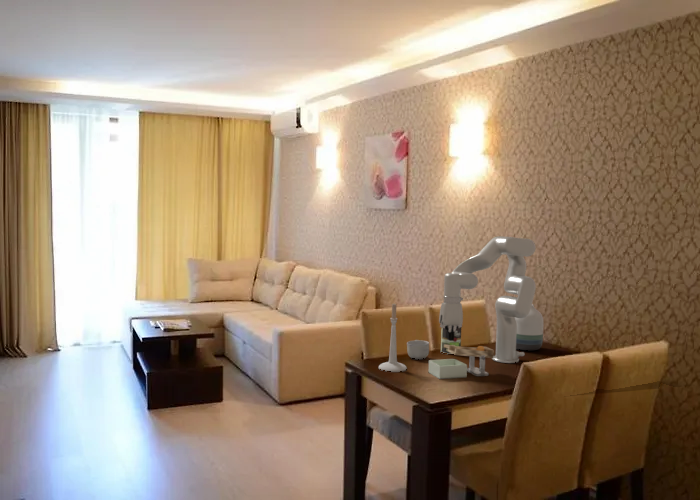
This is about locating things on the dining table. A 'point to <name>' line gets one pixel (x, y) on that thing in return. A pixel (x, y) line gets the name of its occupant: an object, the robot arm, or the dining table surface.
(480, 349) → the ball
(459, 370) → the pale green open box
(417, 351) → the teacup
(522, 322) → the vase
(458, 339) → the coffee can
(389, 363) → the candlestick
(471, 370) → the lever stand
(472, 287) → the robot arm
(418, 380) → the dining table surface
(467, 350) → the lever
